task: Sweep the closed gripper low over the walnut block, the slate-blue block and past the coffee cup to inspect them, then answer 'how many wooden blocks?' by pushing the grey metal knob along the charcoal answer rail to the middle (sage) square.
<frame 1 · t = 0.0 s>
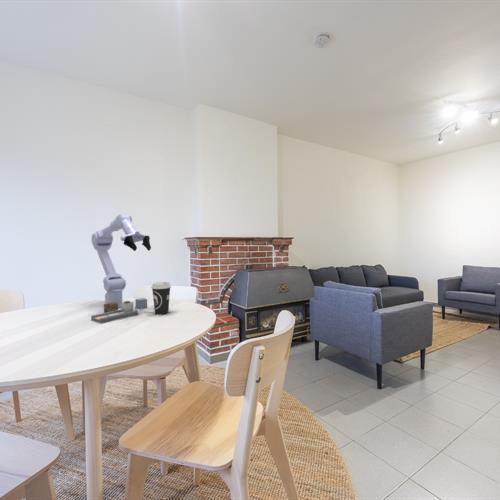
hand: (142, 249, 139), 32 cm above the table, tool tilted 50°, fingers open, 7 cm apart
walnut block: (111, 313, 144), on the table
coffee cup: (161, 313, 143), on the table
slate-blue block: (141, 308, 154), on the table
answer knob: (127, 306, 140), point 4 cm above the table, slide at 0.0 cm
answer rail: (115, 317, 135), on the table
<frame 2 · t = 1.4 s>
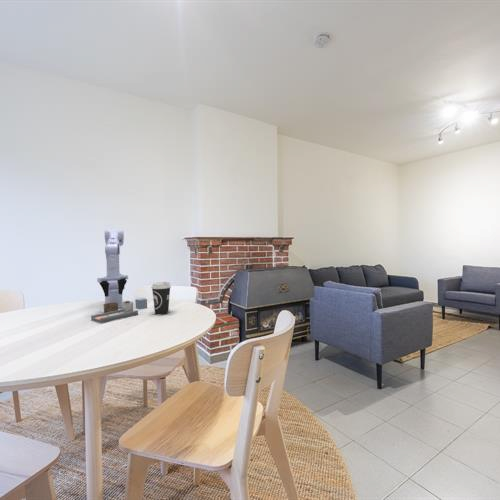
hand: (113, 295, 141), 9 cm above the table, tool pointing down, fingers open, 6 cm apart
nothing on the table moved.
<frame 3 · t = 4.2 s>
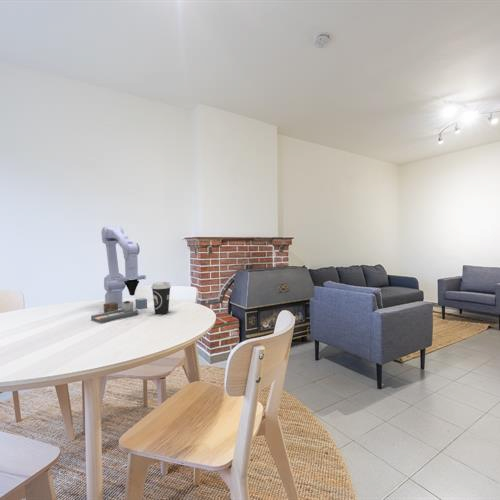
hand: (132, 295, 141), 9 cm above the table, tool pointing down, fingers closed
nothing on the table moved.
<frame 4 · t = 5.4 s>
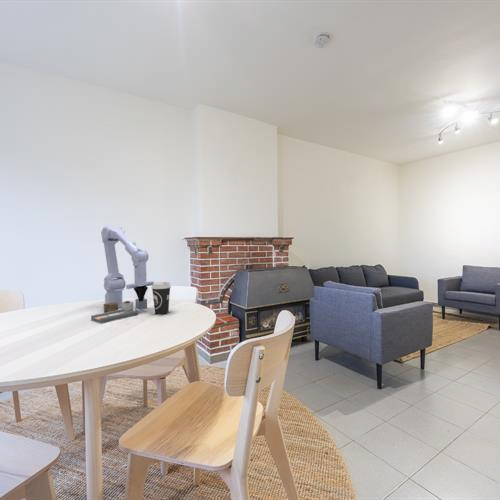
hand: (141, 301, 146), 5 cm above the table, tool pointing down, fingers closed
nothing on the table moved.
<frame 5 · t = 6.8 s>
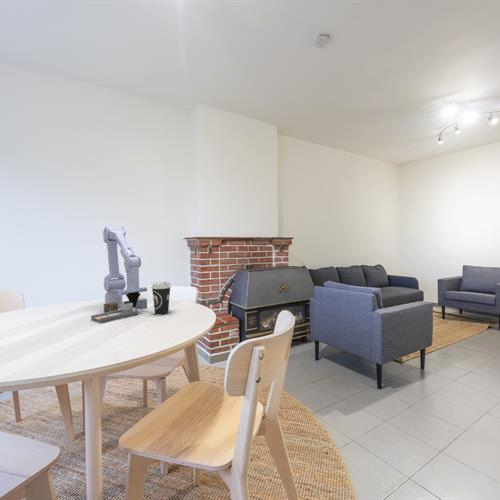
hand: (133, 307, 142), 3 cm above the table, tool pointing down, fingers closed
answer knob: (126, 306, 140), point 4 cm above the table, slide at 0.2 cm, touching gripper
everything else where it was.
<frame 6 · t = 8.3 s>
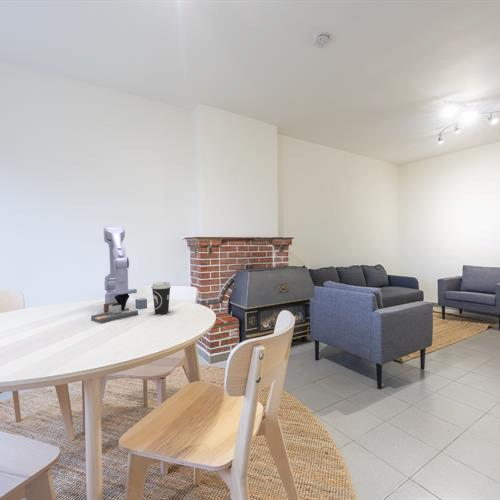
hand: (122, 309, 138), 3 cm above the table, tool pointing down, fingers closed
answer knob: (114, 309, 135), point 4 cm above the table, slide at 6.1 cm, touching gripper
everything else where it was.
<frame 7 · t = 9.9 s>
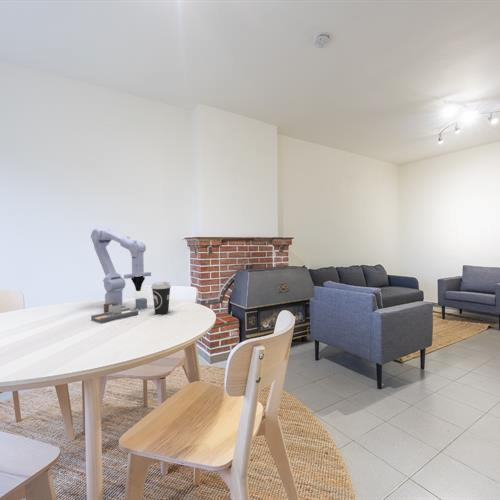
hand: (138, 290, 151), 10 cm above the table, tool pointing down, fingers closed
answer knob: (114, 309, 135), point 4 cm above the table, slide at 6.1 cm
everything else where it was.
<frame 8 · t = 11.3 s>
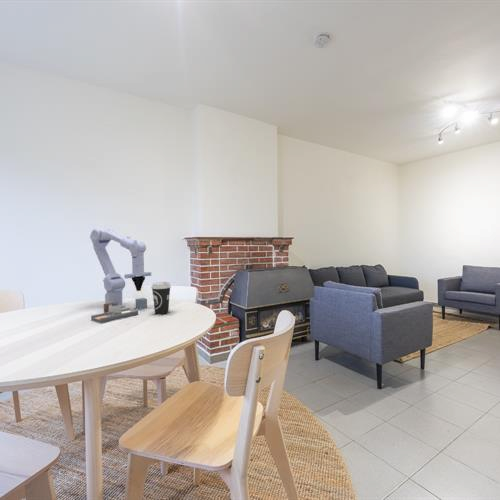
hand: (138, 290, 151), 10 cm above the table, tool pointing down, fingers closed
nothing on the table moved.
at the end: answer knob slide at 6.1 cm; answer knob touching nothing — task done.
